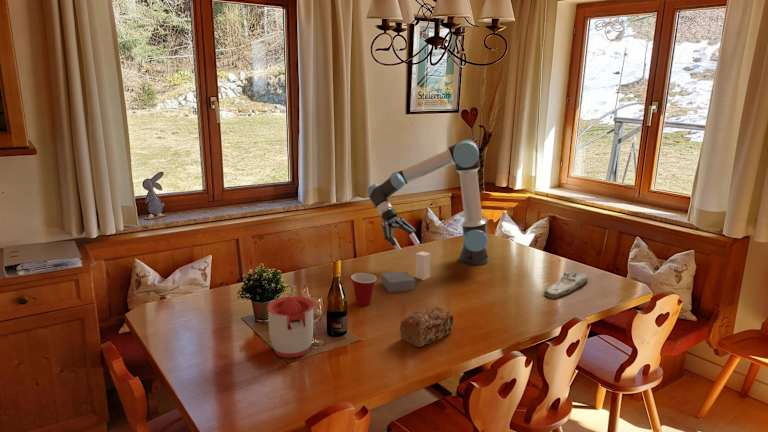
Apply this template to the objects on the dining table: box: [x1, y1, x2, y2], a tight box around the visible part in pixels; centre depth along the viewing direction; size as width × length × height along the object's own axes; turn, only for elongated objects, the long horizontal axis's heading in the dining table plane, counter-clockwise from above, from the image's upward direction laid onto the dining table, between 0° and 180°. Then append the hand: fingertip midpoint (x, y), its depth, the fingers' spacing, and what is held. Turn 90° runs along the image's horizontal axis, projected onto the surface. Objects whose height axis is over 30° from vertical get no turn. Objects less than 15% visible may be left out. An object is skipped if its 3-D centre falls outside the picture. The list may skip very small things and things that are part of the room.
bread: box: [399, 306, 454, 348], centre depth 195 cm, size 19×11×10 cm, turn 133°
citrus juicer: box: [266, 296, 315, 359], centre depth 181 cm, size 16×17×20 cm
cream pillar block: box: [414, 250, 432, 281], centre depth 254 cm, size 5×5×12 cm
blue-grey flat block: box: [381, 270, 416, 293], centre depth 243 cm, size 12×12×5 cm
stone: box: [543, 270, 589, 299], centre depth 245 cm, size 35×5×10 cm
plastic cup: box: [350, 272, 378, 307], centre depth 223 cm, size 11×11×12 cm
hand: (408, 247), depth 258 cm, fingers open, 13 cm apart
